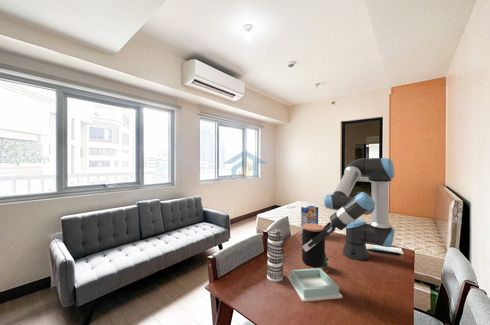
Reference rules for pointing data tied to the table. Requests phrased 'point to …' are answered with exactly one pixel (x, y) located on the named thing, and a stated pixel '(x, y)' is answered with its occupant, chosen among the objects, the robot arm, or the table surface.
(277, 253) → the decorative candle
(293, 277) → the pocket tray
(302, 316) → the table surface
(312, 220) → the juice carton
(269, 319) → the table surface
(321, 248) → the coffee jar
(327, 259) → the binoculars
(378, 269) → the table surface
